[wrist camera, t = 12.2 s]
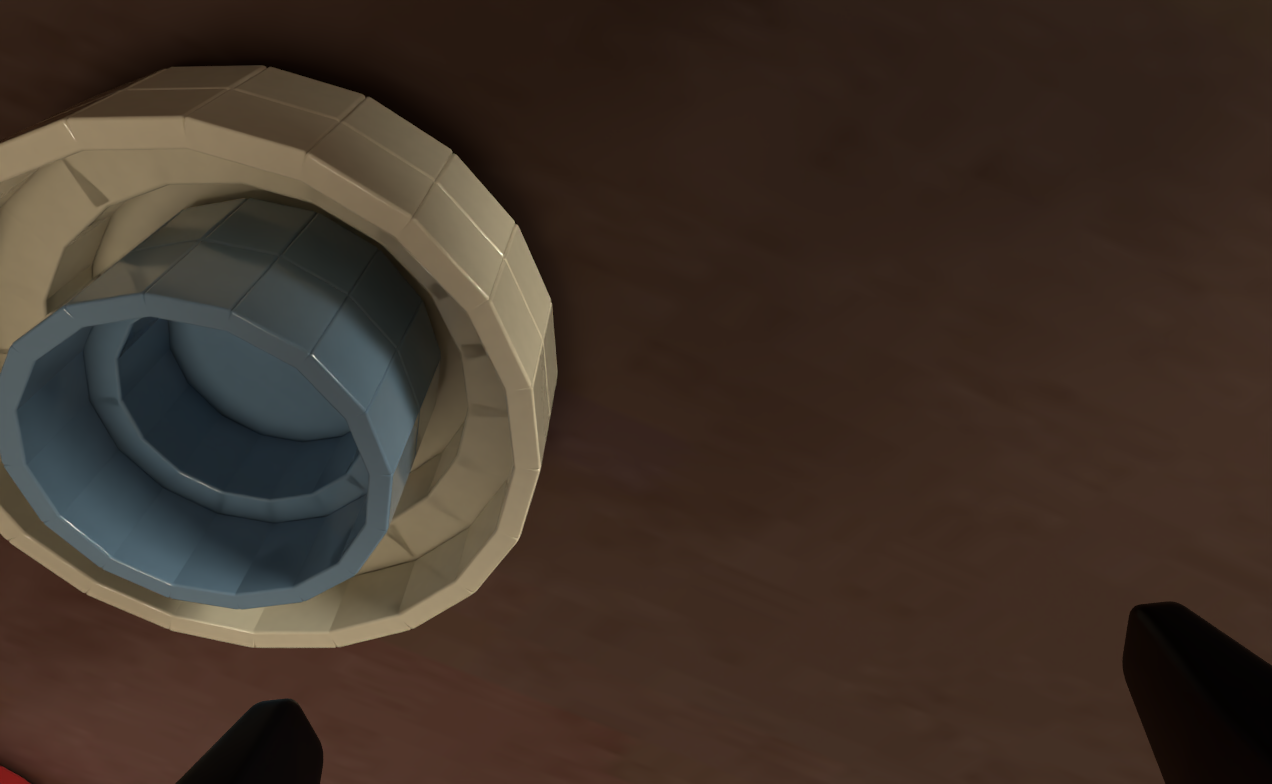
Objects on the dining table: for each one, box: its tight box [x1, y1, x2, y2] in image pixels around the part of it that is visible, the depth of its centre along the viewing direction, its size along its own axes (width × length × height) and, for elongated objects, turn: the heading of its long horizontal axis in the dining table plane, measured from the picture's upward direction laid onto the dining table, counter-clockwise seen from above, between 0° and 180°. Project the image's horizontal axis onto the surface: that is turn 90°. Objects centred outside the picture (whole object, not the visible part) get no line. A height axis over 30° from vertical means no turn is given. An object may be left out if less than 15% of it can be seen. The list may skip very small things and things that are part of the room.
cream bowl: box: [0, 65, 558, 648], centre depth 19 cm, size 12×12×4 cm
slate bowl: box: [0, 198, 441, 610], centre depth 19 cm, size 7×7×5 cm
